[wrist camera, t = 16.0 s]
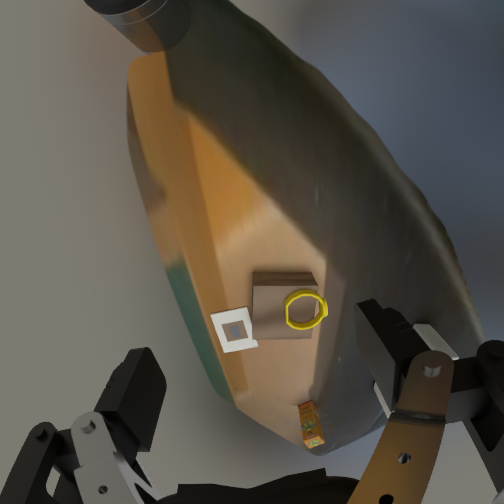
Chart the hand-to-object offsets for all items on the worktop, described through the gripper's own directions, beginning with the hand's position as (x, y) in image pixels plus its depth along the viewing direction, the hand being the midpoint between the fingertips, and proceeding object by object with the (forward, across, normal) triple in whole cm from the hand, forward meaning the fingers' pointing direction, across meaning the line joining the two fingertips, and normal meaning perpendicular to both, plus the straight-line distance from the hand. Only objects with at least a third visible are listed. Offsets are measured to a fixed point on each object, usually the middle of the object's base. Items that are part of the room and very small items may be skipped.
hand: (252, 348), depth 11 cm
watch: (+28, -1, +16) cm, 32 cm away
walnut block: (+33, -2, +16) cm, 37 cm away
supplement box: (+33, -2, +43) cm, 54 cm away
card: (+33, +7, +20) cm, 39 cm away
